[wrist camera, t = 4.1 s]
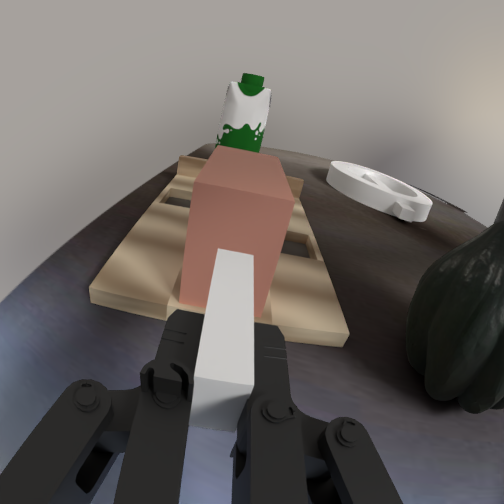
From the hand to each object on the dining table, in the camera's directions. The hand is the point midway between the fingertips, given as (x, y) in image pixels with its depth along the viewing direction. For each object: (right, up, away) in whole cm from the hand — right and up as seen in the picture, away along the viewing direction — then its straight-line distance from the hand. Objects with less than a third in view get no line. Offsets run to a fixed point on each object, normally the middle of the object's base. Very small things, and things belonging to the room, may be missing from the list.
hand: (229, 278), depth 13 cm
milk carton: (-3, +17, +48) cm, 51 cm away
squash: (+19, -10, +9) cm, 23 cm away
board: (-2, +3, +23) cm, 23 cm away
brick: (-1, 0, +14) cm, 14 cm away
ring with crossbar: (+33, +15, +60) cm, 70 cm away
